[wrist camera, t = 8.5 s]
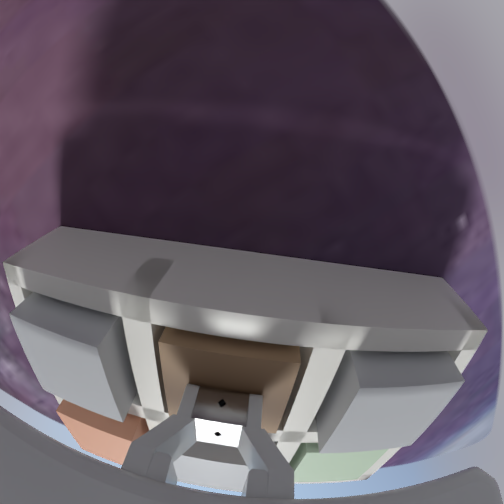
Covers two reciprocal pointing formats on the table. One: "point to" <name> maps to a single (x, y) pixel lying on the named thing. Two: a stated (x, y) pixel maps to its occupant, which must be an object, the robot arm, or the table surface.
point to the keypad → (246, 328)
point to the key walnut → (229, 369)
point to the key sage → (330, 464)
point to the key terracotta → (101, 431)
